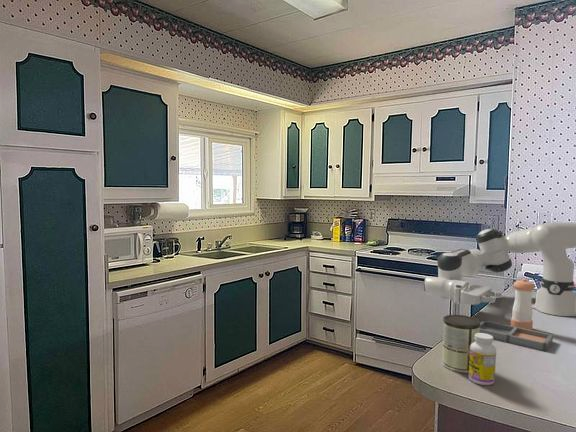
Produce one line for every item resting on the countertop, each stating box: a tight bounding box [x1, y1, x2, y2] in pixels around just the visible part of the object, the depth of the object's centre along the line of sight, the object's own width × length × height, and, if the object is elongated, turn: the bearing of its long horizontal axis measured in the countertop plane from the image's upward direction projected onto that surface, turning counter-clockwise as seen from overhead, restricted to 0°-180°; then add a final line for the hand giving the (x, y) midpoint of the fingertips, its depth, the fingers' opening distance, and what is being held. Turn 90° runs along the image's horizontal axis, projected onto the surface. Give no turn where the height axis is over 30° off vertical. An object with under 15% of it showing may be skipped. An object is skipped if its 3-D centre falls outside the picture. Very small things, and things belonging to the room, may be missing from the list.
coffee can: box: [441, 314, 482, 374], centre depth 128 cm, size 10×10×14 cm
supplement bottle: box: [467, 333, 497, 386], centre depth 118 cm, size 7×7×13 cm
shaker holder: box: [480, 319, 554, 352], centre depth 153 cm, size 12×23×2 cm, turn 50°
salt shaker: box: [510, 278, 535, 330], centre depth 163 cm, size 7×7×19 cm
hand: (498, 298), depth 168 cm, fingers open, 8 cm apart
